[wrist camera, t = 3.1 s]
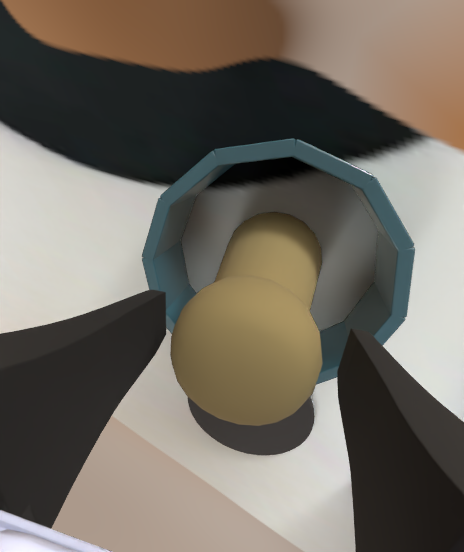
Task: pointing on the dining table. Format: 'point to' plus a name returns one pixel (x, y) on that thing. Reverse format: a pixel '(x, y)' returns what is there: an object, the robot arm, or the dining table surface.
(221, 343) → the tan game pawn
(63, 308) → the dining table surface
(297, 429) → the black mat
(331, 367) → the teal hollow ring
